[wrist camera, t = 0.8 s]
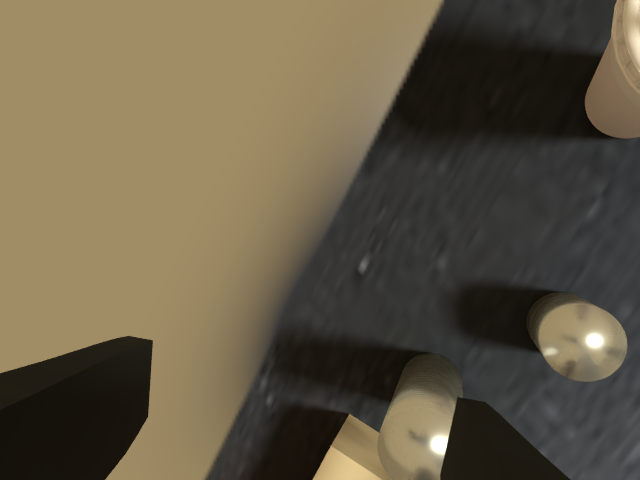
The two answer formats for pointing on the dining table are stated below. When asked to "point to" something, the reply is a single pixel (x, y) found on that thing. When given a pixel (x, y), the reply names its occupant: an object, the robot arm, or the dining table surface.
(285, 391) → the dining table surface
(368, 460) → the pin block
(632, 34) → the smoothie
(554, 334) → the short pin
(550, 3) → the dining table surface
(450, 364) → the tall pin
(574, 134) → the dining table surface
